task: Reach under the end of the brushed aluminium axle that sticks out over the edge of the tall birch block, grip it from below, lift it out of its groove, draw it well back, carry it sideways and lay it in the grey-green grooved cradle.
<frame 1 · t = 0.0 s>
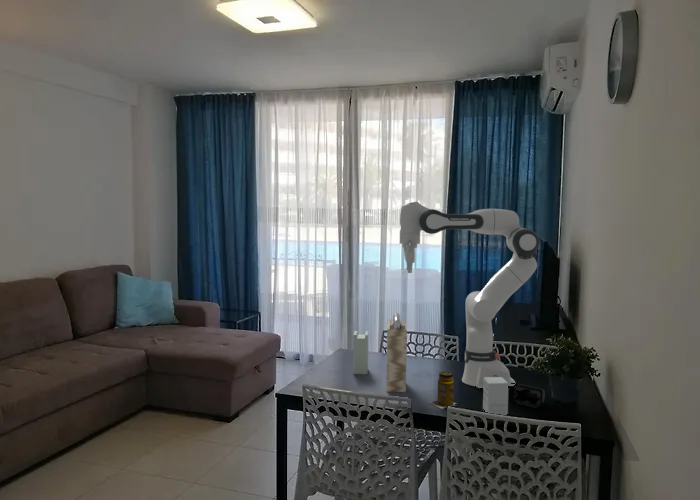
hand: (409, 271, 228), 48 cm above the table, tool pointing down, fingers open, 8 cm apart
condiment: (443, 404, 202), on the table
cradle: (360, 371, 243), on the table
end cap: (528, 404, 203), on the table
supplement box: (494, 414, 193), on the table
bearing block: (395, 386, 222), on the table
axle: (396, 324, 224), point 26 cm above the table, touching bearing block
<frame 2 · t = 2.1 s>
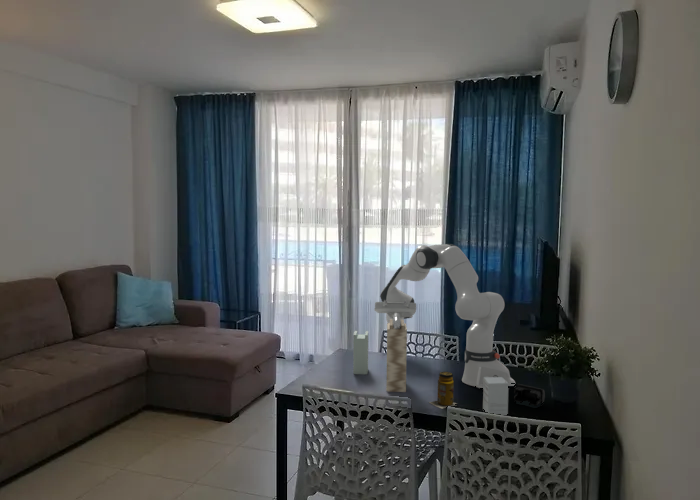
hand: (395, 302, 251), 31 cm above the table, tool pointing upward, fingers open, 8 cm apart
nothing on the table moved.
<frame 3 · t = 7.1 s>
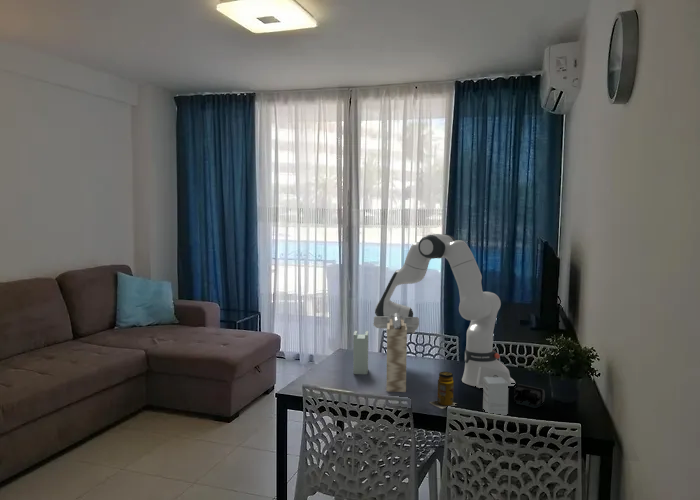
hand: (396, 316, 230), 28 cm above the table, tool pointing upward, fingers closed on axle, 3 cm apart
axle: (396, 324, 224), point 26 cm above the table, touching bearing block, gripper
everything else where it was.
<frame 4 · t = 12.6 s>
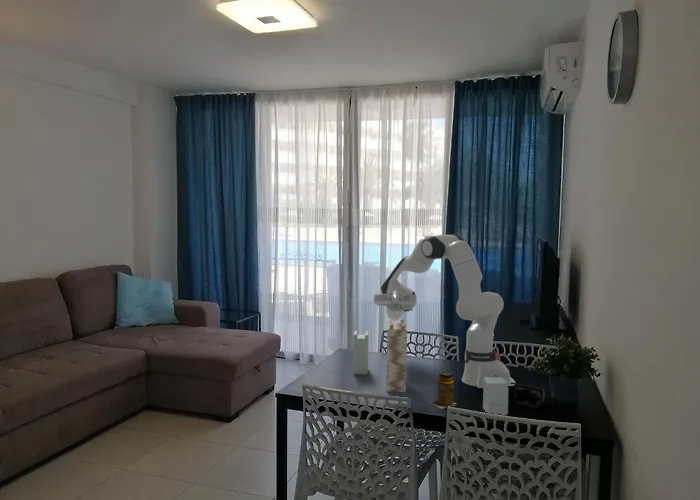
hand: (395, 294, 245), 35 cm above the table, tool pointing upward, fingers closed on axle, 3 cm apart
axle: (395, 300, 239), point 33 cm above the table, touching gripper
everything else where it was.
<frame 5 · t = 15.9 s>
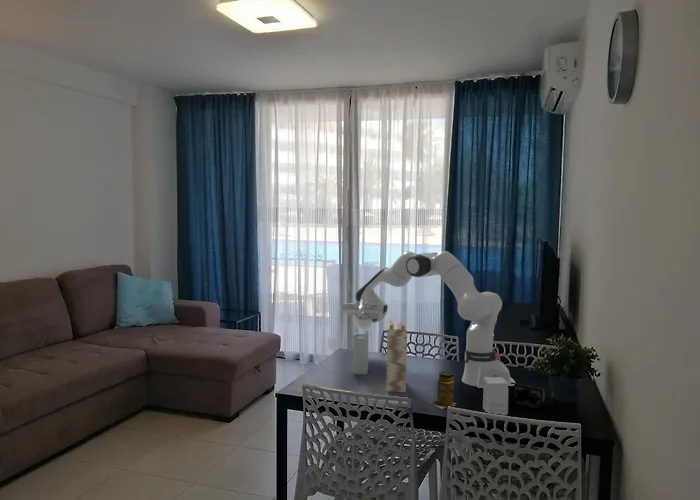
hand: (361, 303, 247), 31 cm above the table, tool pointing upward, fingers closed on axle, 3 cm apart
axle: (361, 311, 241), point 28 cm above the table, tilted 6°, touching gripper
everything else where it was.
when the fingers open (20 cm above the table, at t = 18.6 s): axle stays where it is, resting on cradle.
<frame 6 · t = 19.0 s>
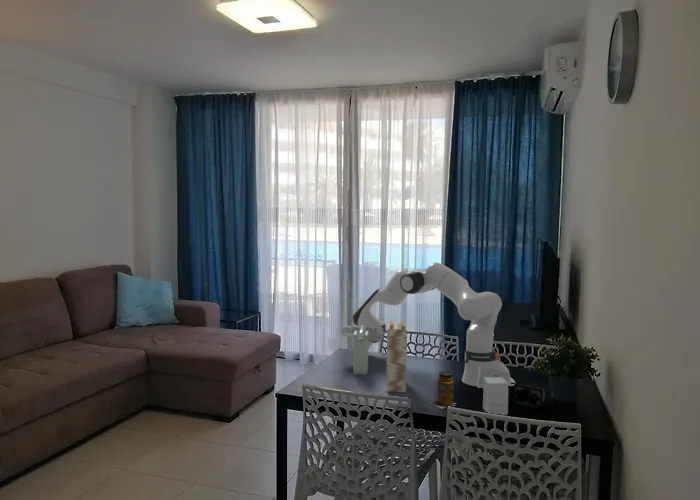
hand: (361, 327, 248), 19 cm above the table, tool pointing upward, fingers open, 7 cm apart
axle: (361, 336, 242), point 17 cm above the table, tilted 12°, touching cradle
everything else where it was.
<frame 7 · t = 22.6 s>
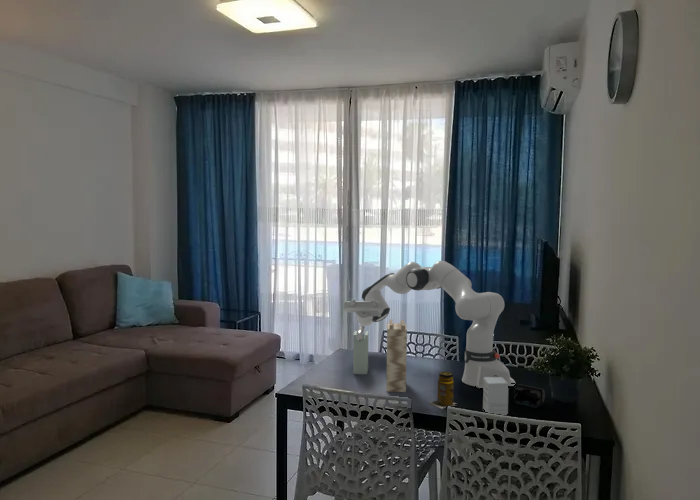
hand: (363, 301, 258), 30 cm above the table, tool pointing upward, fingers open, 8 cm apart
nothing on the table moved.
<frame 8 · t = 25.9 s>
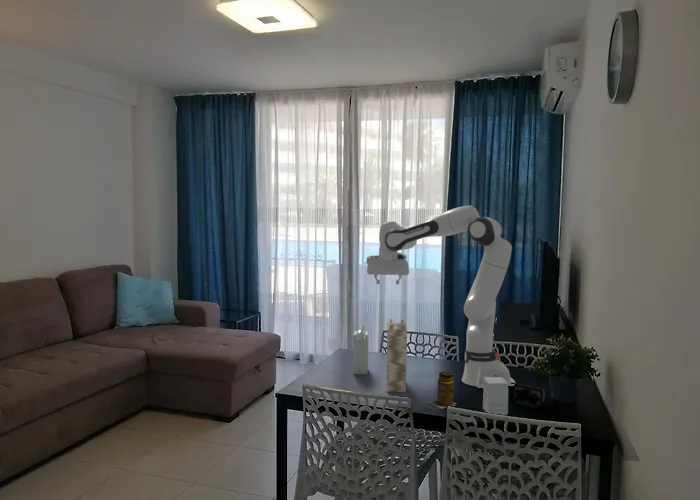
hand: (387, 284, 253), 39 cm above the table, tool pointing down, fingers open, 8 cm apart
nothing on the table moved.
at the end: axle inside the target area on the cradle (0.5 cm from its centre), point 16.5 cm above the cradle's base; the gripper is holding nothing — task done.
